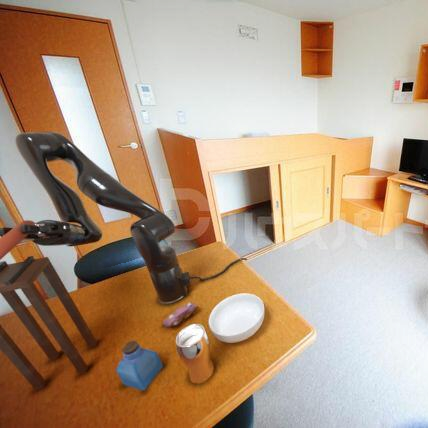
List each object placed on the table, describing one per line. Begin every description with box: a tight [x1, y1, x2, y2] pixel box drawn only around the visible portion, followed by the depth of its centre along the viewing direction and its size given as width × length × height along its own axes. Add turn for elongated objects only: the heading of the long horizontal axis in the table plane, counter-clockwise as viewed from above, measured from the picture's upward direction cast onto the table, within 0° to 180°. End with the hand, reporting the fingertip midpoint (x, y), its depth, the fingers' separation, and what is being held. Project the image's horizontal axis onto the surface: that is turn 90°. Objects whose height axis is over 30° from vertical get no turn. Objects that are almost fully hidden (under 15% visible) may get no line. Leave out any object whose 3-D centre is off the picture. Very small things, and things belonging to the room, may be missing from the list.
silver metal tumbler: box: [175, 323, 215, 384], centre depth 62 cm, size 7×7×15 cm
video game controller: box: [162, 302, 198, 328], centre depth 80 cm, size 10×5×7 cm, turn 148°
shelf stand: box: [0, 255, 98, 391], centre depth 60 cm, size 10×10×33 cm
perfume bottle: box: [115, 340, 164, 391], centre depth 62 cm, size 6×6×12 cm
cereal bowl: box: [208, 292, 265, 344], centre depth 77 cm, size 17×17×7 cm
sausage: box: [0, 219, 37, 261], centre depth 55 cm, size 21×3×3 cm, turn 28°
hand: (12, 230), depth 57 cm, fingers closed on sausage, 3 cm apart
